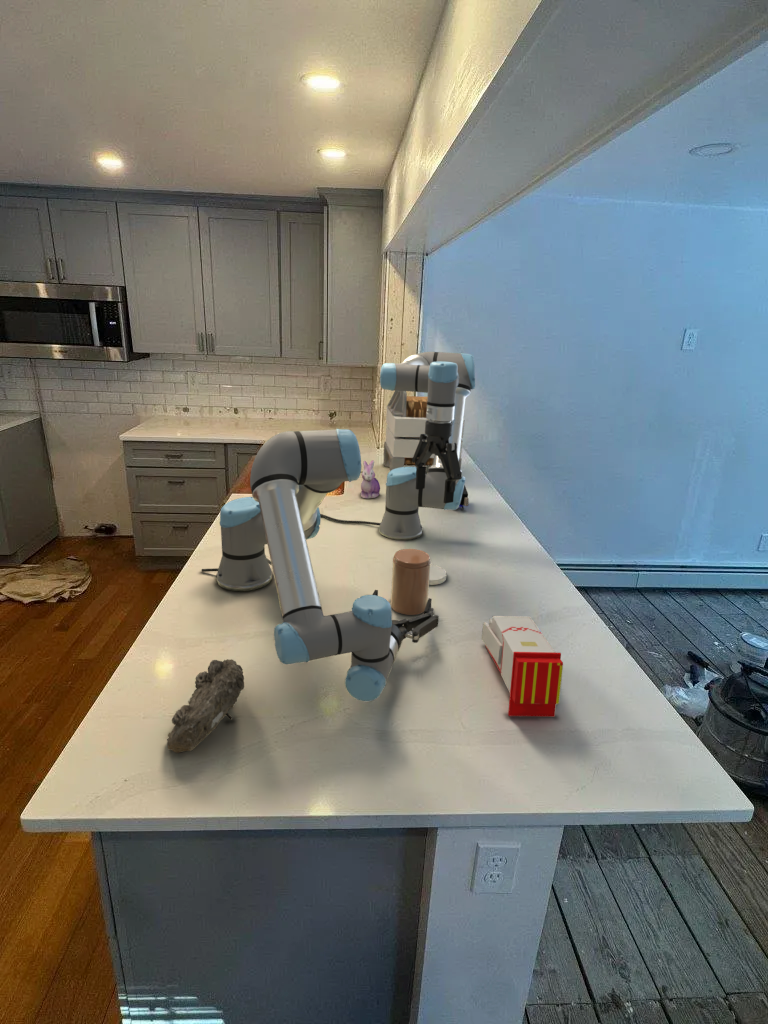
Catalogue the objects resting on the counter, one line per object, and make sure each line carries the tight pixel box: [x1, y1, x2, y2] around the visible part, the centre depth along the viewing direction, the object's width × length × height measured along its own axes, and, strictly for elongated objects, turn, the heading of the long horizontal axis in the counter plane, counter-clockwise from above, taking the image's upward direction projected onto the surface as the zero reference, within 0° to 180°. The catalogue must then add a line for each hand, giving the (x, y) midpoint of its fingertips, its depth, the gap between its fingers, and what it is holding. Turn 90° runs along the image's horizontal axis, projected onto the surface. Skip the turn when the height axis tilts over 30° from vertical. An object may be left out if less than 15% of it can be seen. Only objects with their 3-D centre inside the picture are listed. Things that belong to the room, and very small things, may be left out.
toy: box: [481, 615, 564, 718], centre depth 123 cm, size 12×13×30 cm
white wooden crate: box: [383, 391, 465, 472], centre depth 268 cm, size 34×33×41 cm
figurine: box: [360, 460, 381, 499], centre depth 236 cm, size 9×10×15 cm
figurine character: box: [455, 485, 470, 511], centre depth 230 cm, size 7×8×15 cm
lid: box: [429, 563, 447, 586], centre depth 169 cm, size 11×11×2 cm
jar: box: [390, 548, 432, 616], centre depth 149 cm, size 10×10×15 cm
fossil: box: [166, 658, 245, 754], centre depth 106 cm, size 22×10×15 cm
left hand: (402, 598), depth 141 cm, fingers open, 13 cm apart
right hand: (433, 495), depth 161 cm, fingers open, 13 cm apart
